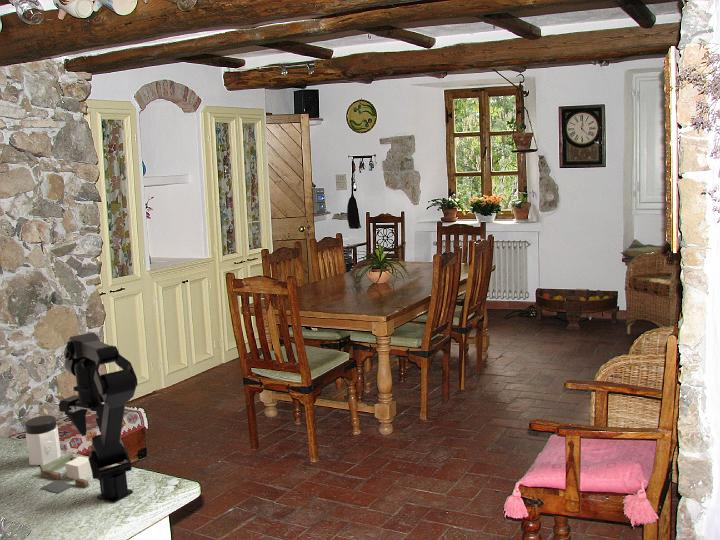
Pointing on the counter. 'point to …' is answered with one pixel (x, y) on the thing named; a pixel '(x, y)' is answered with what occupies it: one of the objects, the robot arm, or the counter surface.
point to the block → (78, 468)
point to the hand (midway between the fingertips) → (95, 437)
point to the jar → (42, 440)
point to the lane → (50, 467)
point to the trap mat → (57, 486)
